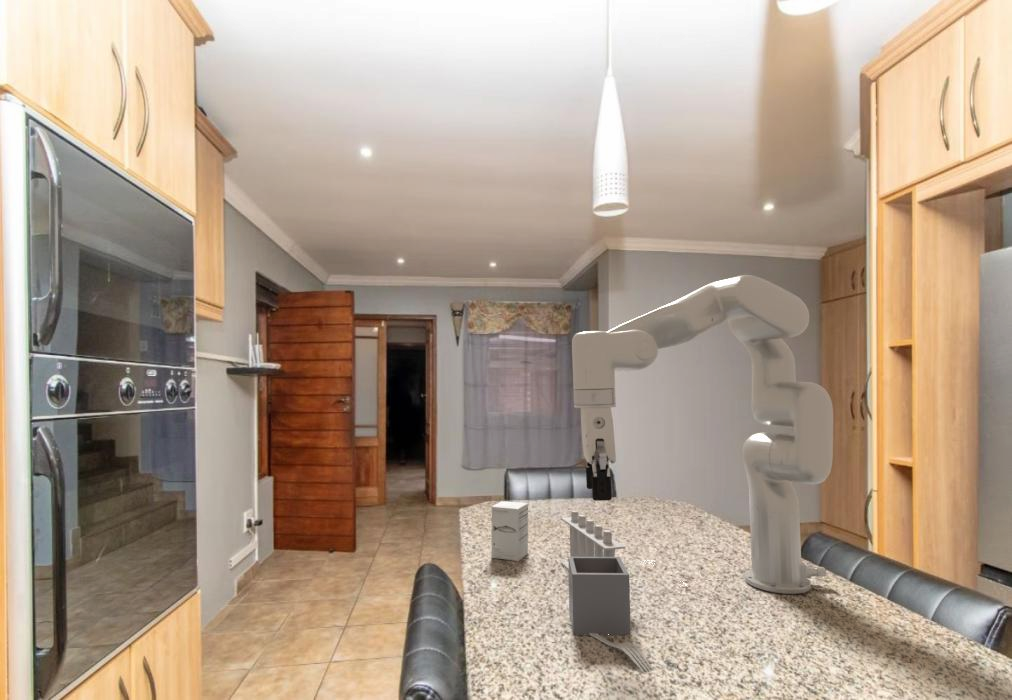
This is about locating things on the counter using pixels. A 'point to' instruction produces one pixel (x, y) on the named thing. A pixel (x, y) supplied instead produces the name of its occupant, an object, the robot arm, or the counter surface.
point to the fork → (625, 650)
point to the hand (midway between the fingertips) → (598, 494)
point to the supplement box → (509, 530)
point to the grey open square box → (599, 596)
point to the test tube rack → (589, 539)
